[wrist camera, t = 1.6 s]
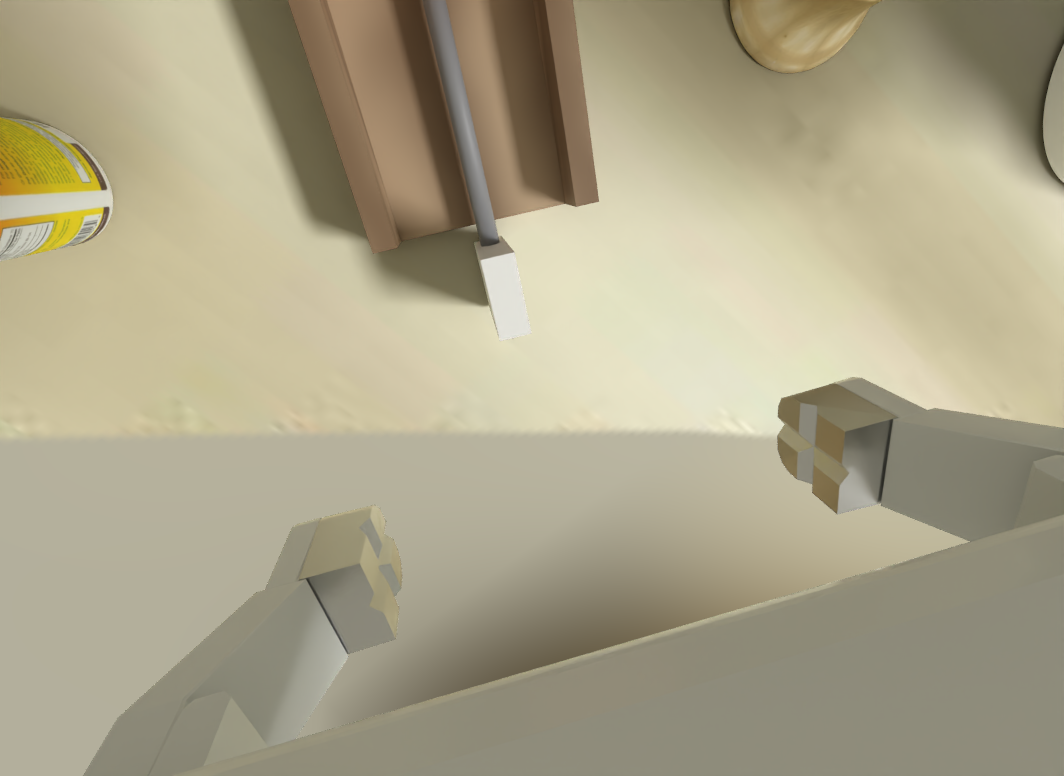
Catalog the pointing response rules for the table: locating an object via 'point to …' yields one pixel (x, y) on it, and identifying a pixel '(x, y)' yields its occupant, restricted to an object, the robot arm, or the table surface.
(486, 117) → the shelf lane
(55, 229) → the supplement bottle
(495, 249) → the pull block
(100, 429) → the table surface
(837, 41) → the hand bell
